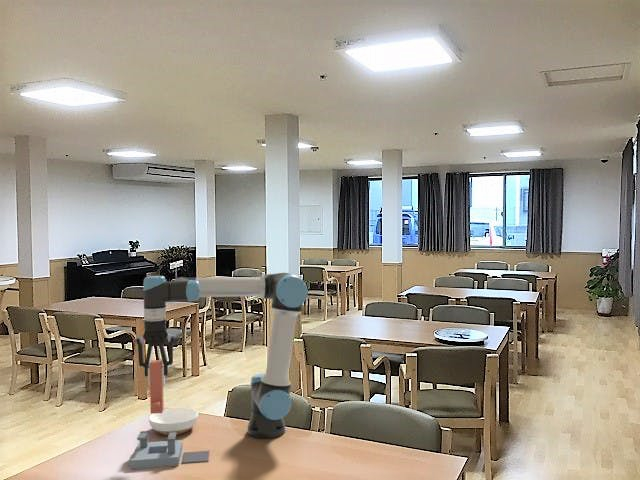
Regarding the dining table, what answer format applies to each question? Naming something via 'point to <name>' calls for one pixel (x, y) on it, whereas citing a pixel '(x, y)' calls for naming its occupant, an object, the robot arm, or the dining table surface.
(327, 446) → the dining table surface
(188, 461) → the mat
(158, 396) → the orange tabbed bar
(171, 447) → the eye block
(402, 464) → the dining table surface
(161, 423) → the bowl
